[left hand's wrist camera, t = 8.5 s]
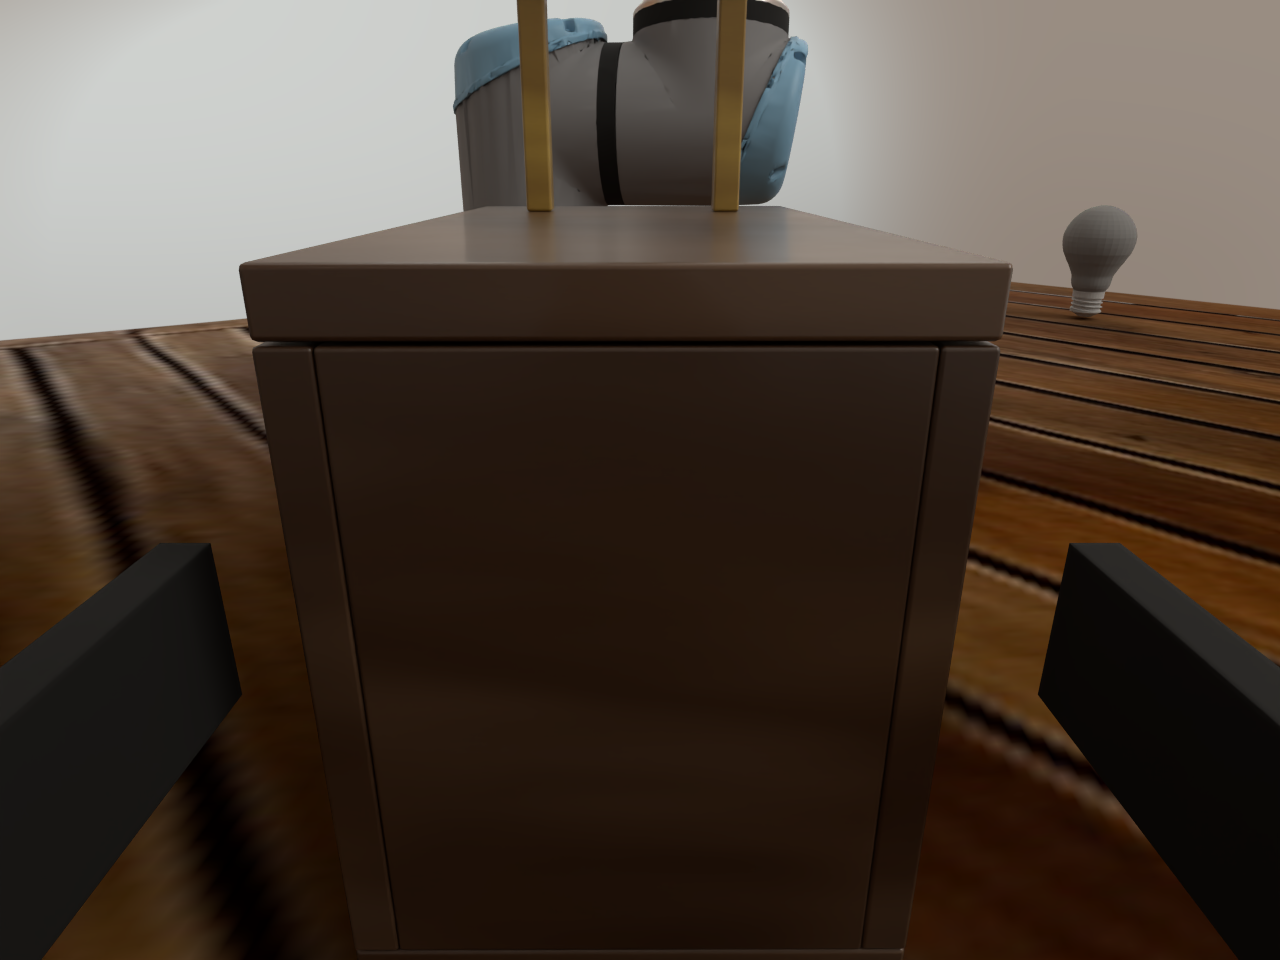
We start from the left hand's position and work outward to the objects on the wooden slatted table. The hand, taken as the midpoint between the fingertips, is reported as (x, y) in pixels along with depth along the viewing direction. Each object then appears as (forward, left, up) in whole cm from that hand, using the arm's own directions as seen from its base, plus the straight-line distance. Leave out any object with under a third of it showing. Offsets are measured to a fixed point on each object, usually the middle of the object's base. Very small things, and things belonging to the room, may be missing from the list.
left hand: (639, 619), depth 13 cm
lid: (-6, +5, +5) cm, 9 cm away
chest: (-6, +5, -7) cm, 10 cm away
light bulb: (-24, +75, -7) cm, 80 cm away
